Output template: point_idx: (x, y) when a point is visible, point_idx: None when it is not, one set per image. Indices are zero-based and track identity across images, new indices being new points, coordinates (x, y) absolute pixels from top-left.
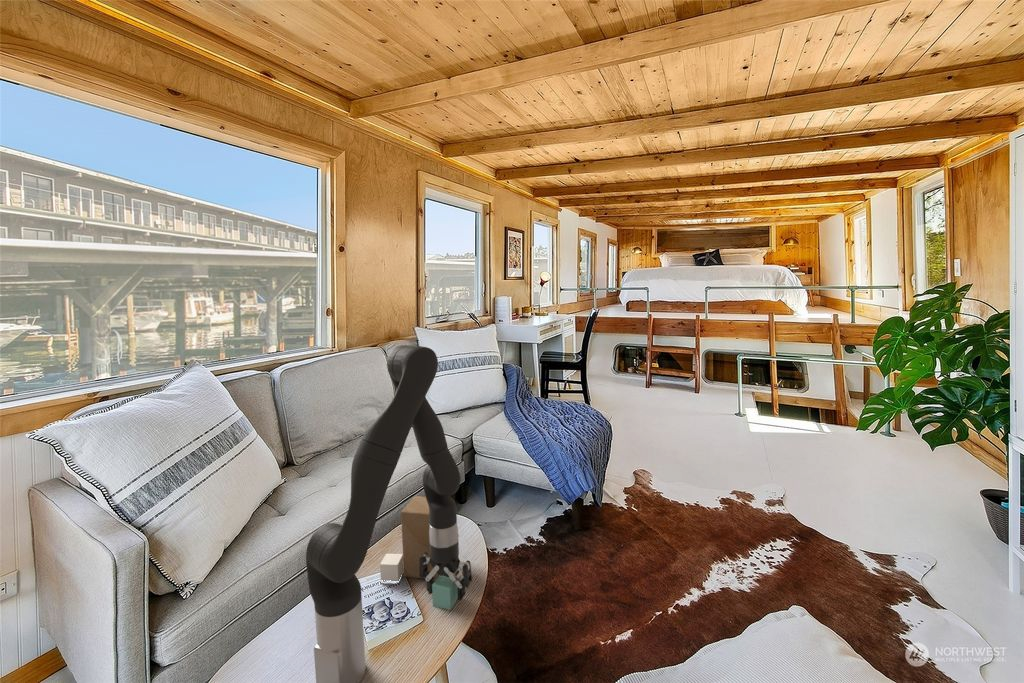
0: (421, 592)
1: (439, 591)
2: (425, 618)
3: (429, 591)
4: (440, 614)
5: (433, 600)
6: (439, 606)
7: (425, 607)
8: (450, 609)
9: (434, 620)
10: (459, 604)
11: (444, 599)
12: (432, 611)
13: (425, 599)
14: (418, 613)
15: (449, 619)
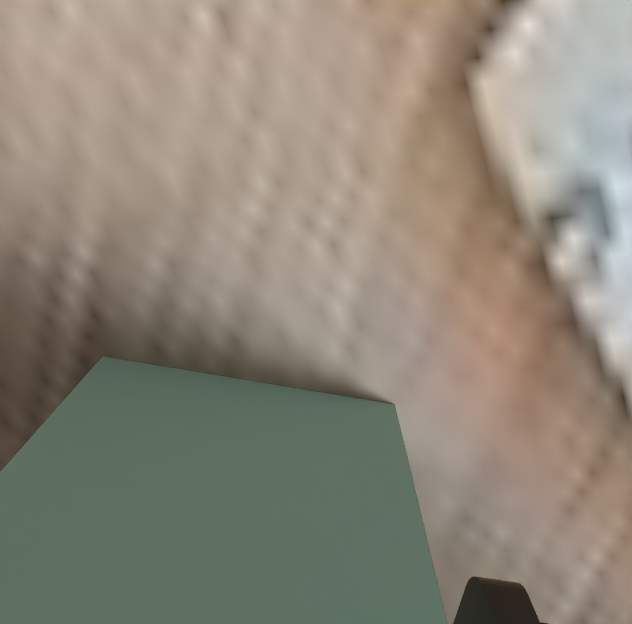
0: (625, 611)
1: (238, 605)
2: (441, 128)
3: (516, 615)
4: (217, 249)
5: (393, 456)
6: (282, 393)
7: (503, 363)
8: (99, 364)
9: (270, 101)
10: None
11: (152, 462)
12: (368, 296)
13: (540, 506)
14: (590, 226)
15: (26, 158)
